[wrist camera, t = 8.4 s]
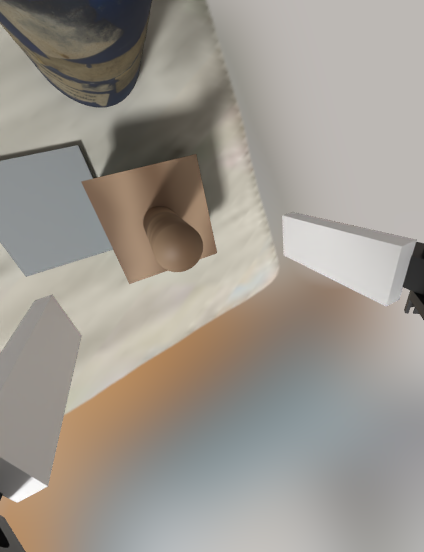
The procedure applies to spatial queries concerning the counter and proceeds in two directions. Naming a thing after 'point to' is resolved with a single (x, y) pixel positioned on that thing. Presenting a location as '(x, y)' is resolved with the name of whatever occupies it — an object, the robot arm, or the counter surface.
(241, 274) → the counter surface
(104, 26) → the canister
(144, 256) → the lid
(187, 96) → the counter surface
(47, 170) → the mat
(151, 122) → the counter surface
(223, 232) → the counter surface
